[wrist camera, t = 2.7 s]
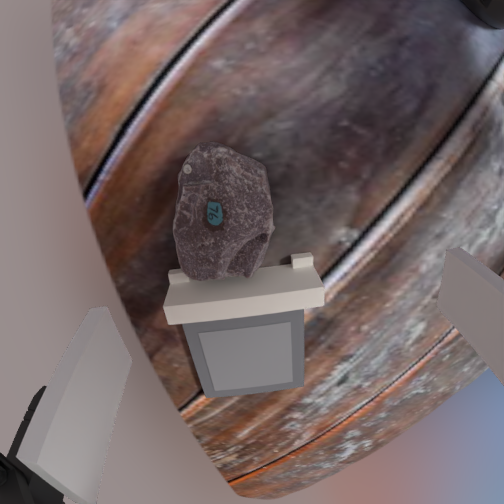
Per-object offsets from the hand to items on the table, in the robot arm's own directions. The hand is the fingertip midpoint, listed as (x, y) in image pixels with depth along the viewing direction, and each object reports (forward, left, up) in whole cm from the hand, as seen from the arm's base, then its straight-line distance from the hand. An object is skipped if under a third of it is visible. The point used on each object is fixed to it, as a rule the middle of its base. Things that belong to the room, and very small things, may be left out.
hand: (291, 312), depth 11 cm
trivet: (+19, -2, -18) cm, 26 cm away
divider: (+8, -2, -18) cm, 20 cm away
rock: (-3, -1, -19) cm, 19 cm away
